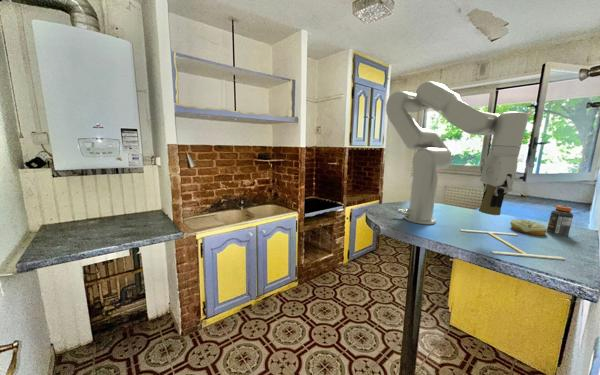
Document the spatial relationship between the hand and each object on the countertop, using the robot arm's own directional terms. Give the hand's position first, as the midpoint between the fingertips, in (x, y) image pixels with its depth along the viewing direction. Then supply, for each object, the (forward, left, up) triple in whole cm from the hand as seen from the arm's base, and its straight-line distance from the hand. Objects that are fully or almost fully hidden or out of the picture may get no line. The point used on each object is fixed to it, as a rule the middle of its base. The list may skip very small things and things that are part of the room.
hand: (491, 204), depth 83 cm
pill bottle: (+35, +14, -14) cm, 40 cm away
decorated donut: (+25, +15, -14) cm, 32 cm away
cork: (0, 0, -3) cm, 3 cm away
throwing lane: (+7, -1, -13) cm, 15 cm away
